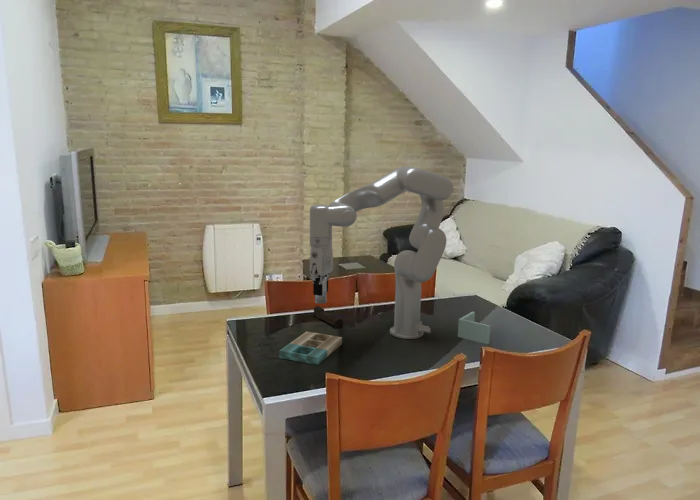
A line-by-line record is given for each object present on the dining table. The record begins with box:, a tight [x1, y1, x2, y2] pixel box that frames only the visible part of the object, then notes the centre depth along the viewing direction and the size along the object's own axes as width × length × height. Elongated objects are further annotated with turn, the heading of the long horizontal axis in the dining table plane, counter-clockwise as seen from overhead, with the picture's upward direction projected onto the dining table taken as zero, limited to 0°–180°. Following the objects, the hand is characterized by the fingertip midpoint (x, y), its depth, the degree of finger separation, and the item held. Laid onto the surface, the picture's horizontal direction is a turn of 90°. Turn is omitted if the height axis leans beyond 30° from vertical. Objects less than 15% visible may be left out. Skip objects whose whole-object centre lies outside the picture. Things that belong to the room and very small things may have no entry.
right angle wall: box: [457, 311, 492, 345], centre depth 196 cm, size 12×12×8 cm
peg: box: [314, 276, 328, 305], centre depth 182 cm, size 4×4×9 cm
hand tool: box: [313, 305, 344, 329], centre depth 210 cm, size 19×4×5 cm, turn 32°
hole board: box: [278, 331, 343, 366], centre depth 179 cm, size 14×20×2 cm
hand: (320, 292), depth 182 cm, fingers closed on peg, 4 cm apart
